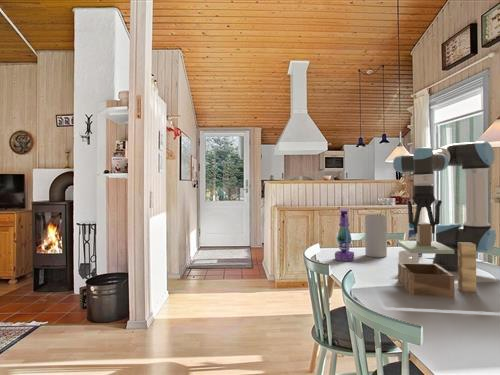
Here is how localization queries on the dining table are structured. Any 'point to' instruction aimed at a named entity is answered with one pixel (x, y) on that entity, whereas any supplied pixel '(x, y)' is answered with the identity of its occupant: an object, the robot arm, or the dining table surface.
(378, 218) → the cylinder vase
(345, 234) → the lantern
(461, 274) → the tall wooden block
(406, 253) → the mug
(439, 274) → the open wooden box
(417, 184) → the robot arm
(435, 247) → the lid
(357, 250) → the dining table surface
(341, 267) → the dining table surface
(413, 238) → the beverage bottle
